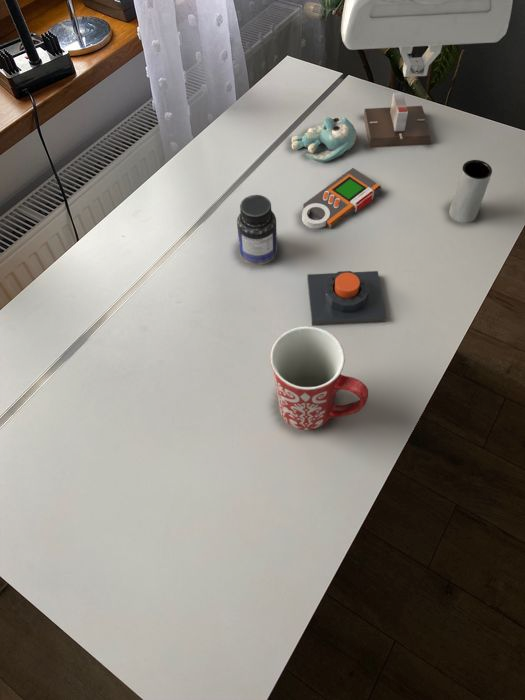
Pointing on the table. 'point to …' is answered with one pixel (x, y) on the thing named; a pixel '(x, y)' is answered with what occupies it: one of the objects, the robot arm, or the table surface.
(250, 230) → the pill bottle
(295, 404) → the mug
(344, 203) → the electronic device
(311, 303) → the button box
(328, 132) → the stuffed animal
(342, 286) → the button
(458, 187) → the white cylindrical tube
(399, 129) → the white rectangular block
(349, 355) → the table surface
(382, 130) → the panel
